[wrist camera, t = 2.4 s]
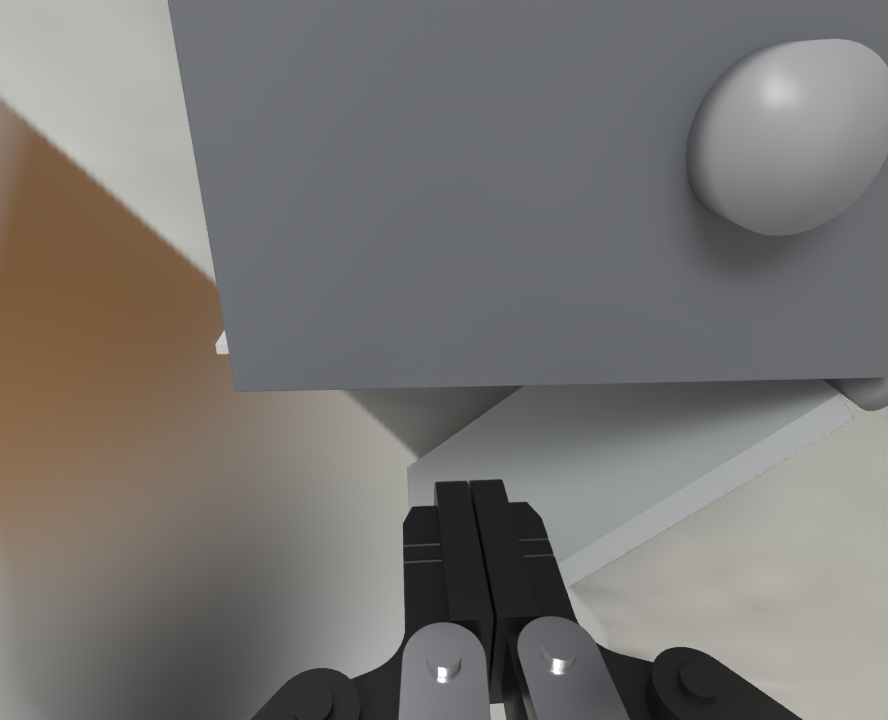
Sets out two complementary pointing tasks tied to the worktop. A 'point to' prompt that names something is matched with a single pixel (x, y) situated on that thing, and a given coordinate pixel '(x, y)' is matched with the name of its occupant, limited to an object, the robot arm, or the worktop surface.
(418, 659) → the robot arm
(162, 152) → the worktop surface
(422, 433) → the worktop surface
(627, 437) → the side door
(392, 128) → the grey knobbed box
